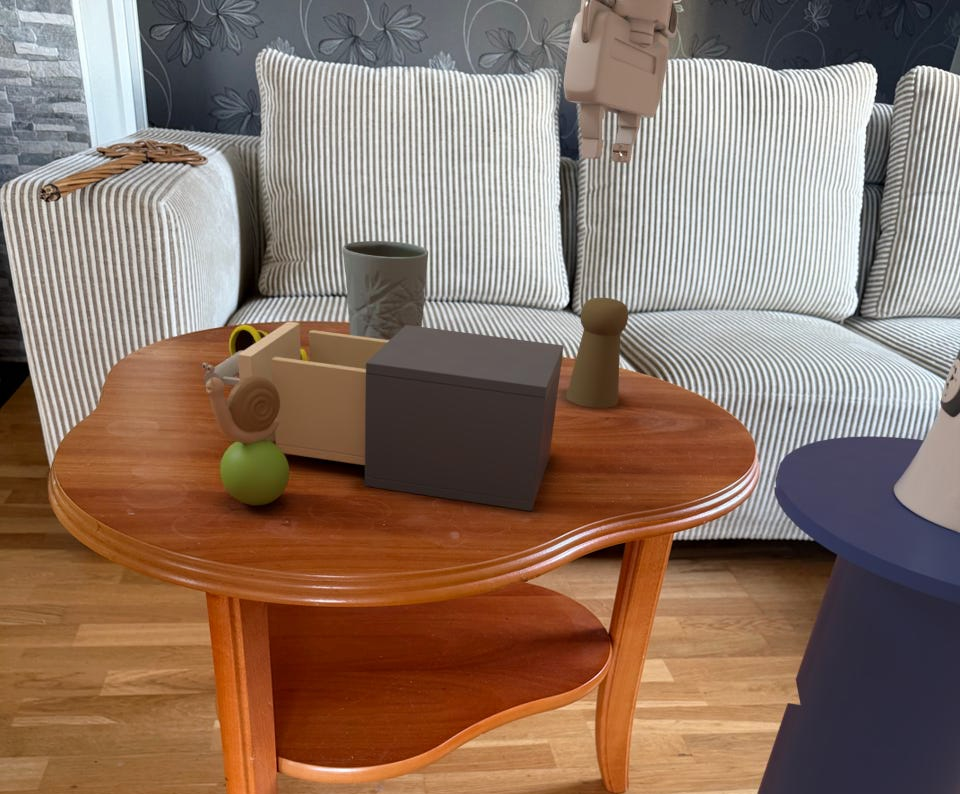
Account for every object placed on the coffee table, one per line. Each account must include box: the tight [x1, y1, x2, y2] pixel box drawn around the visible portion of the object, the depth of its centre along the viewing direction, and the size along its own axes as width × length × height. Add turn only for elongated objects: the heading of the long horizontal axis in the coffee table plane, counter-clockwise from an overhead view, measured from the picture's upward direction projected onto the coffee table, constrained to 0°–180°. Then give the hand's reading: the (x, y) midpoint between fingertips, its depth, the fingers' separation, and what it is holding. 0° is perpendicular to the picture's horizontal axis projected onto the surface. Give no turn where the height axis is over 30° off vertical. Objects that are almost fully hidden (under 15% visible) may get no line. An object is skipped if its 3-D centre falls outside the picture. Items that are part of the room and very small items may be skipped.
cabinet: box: [364, 325, 564, 512], centre depth 80 cm, size 15×13×11 cm
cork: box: [565, 297, 629, 409], centre depth 100 cm, size 6×6×11 cm
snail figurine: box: [201, 361, 290, 506], centre depth 71 cm, size 5×6×12 cm
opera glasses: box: [228, 324, 308, 361], centre depth 100 cm, size 10×5×5 cm, turn 38°
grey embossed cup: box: [342, 240, 429, 340], centre depth 110 cm, size 10×10×12 cm
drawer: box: [203, 321, 389, 466], centre depth 82 cm, size 18×12×9 cm, turn 79°
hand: (606, 160), depth 96 cm, fingers open, 8 cm apart
